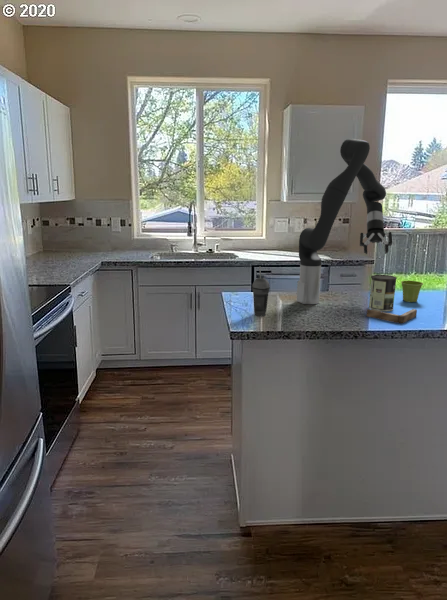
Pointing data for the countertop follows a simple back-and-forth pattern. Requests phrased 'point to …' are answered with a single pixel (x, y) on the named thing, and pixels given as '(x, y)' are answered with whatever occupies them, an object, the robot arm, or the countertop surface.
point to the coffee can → (382, 292)
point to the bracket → (392, 315)
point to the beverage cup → (260, 295)
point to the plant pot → (411, 290)
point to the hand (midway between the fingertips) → (376, 253)
